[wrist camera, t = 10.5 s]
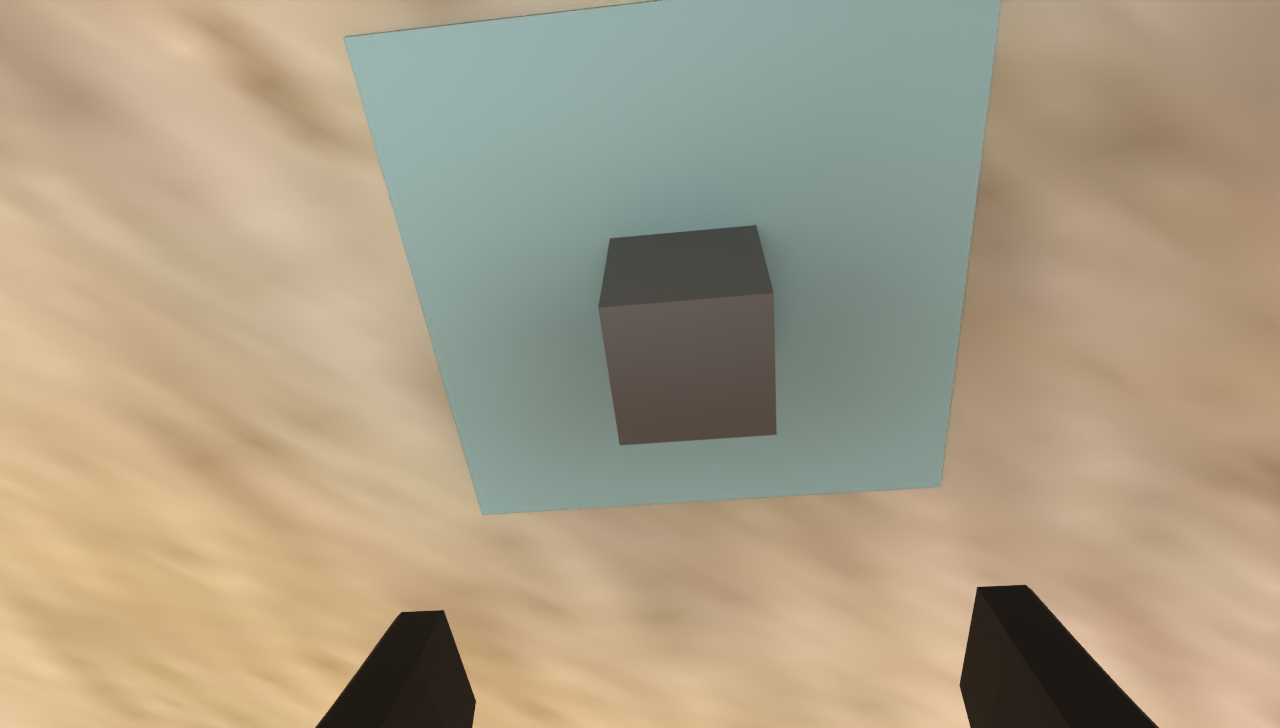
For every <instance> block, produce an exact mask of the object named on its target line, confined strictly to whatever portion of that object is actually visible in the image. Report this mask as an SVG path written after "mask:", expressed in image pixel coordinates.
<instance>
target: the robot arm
mask: <svg viewBox="0 0 1280 728" xmlns="http://www.w3.org/2000/svg"><path fill="white" fill-rule="evenodd" d="M960 689H961V692H962V696H963V700H964V704H965V708H966V712H967V715H968V719H969V723H970V727H971V728H1159V727H1158V726H1157V725H1156V724H1155V723H1154V722H1153V721H1152V720H1151V719H1150V718H1149V717H1148V716H1147V715H1146V714H1145V713H1144V712H1143V711H1142V710H1141V709H1140V708H1139V707H1138V706H1137V705H1136V704H1135V703H1134V702H1133V701H1132V700H1131V699H1130V697H1129V696H1128V695H1127V694H1126V693H1125V692H1124V691H1123V690H1122V689H1121V688H1120V687H1119V686H1118V685H1117V684H1116V683H1115V682H1114V681H1113V679H1112V678H1111V677H1110V676H1109V675H1108V674H1107V673H1106V672H1105V671H1104V670H1103V669H1102V667H1101V666H1100V665H1099V664H1098V663H1097V662H1096V661H1095V660H1094V659H1093V658H1092V657H1091V656H1090V654H1089V653H1088V652H1087V651H1086V650H1085V649H1084V648H1083V647H1082V646H1081V645H1080V643H1079V642H1078V641H1077V640H1076V639H1075V638H1074V637H1073V636H1072V635H1071V633H1070V632H1069V631H1068V630H1067V629H1066V628H1065V627H1064V626H1063V625H1062V623H1061V622H1060V621H1059V620H1058V619H1057V618H1056V617H1055V615H1054V614H1053V613H1052V612H1051V611H1050V610H1049V609H1048V608H1047V606H1046V605H1045V604H1044V603H1043V602H1042V601H1041V600H1040V599H1039V597H1038V596H1037V595H1036V594H1035V593H1034V592H1033V591H1032V590H1031V589H1030V588H1029V587H1028V586H1026V585H1013V586H990V587H977V592H976V597H975V603H974V608H973V614H972V620H971V625H970V631H969V636H968V642H967V647H966V653H965V658H964V664H963V669H962V675H961V680H960ZM475 704H476V700H475V697H474V695H473V692H472V689H471V686H470V683H469V680H468V678H467V675H466V672H465V669H464V666H463V663H462V661H461V658H460V655H459V652H458V649H457V646H456V644H455V641H454V638H453V635H452V632H451V630H450V627H449V624H448V621H447V618H446V615H445V613H444V610H439V611H416V612H401V613H400V614H399V615H398V616H397V618H396V619H395V620H394V621H393V623H392V624H391V626H390V627H389V628H388V630H387V631H386V632H385V634H384V635H383V637H382V638H381V639H380V641H379V642H378V644H377V645H376V646H375V648H374V649H373V651H372V652H371V653H370V655H369V656H368V657H367V659H366V660H365V662H364V663H363V664H362V666H361V667H360V669H359V670H358V671H357V673H356V674H355V675H354V677H353V678H352V679H351V681H350V682H349V684H348V685H347V686H346V688H345V689H344V690H343V692H342V693H341V694H340V696H339V697H338V698H337V700H336V701H335V702H334V704H333V705H332V707H331V708H330V709H329V711H328V712H327V713H326V714H325V716H324V717H323V718H322V720H321V721H320V722H319V724H318V725H317V726H316V727H315V728H472V725H473V718H474V711H475Z"/></svg>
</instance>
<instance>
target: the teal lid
mask: <svg viewBox="0 0 1280 728" xmlns="http://www.w3.org/2000/svg"><path fill="white" fill-rule="evenodd" d="M1000 7H1001V0H656V1H647V2H639V3H630V4H622V5H613V6H604V7H596V8H587V9H578V10H570V11H561V12H553V13H544V14H535V15H527V16H518V17H510V18H501V19H492V20H484V21H475V22H467V23H458V24H449V25H441V26H432V27H423V28H415V29H406V30H398V31H389V32H380V33H372V34H363V35H355V36H346V37H344V38H343V39H344V42H345V46H346V49H347V52H348V56H349V59H350V63H351V66H352V70H353V73H354V76H355V80H356V83H357V87H358V90H359V94H360V97H361V100H362V104H363V107H364V111H365V114H366V118H367V121H368V125H369V128H370V131H371V135H372V138H373V142H374V145H375V149H376V152H377V155H378V159H379V162H380V166H381V169H382V173H383V176H384V179H385V183H386V186H387V190H388V193H389V197H390V200H391V204H392V207H393V210H394V214H395V217H396V221H397V224H398V228H399V231H400V234H401V238H402V241H403V245H404V248H405V252H406V255H407V258H408V262H409V265H410V269H411V272H412V276H413V279H414V283H415V286H416V289H417V293H418V296H419V300H420V303H421V307H422V310H423V313H424V317H425V320H426V324H427V327H428V331H429V334H430V338H431V341H432V344H433V348H434V351H435V355H436V358H437V362H438V365H439V368H440V372H441V375H442V379H443V382H444V386H445V389H446V392H447V396H448V399H449V403H450V406H451V410H452V413H453V417H454V420H455V423H456V427H457V430H458V434H459V437H460V441H461V444H462V447H463V451H464V454H465V458H466V461H467V465H468V468H469V471H470V475H471V478H472V482H473V485H474V489H475V492H476V496H477V499H478V502H479V506H480V509H481V513H482V515H486V514H502V513H519V512H535V511H552V510H568V509H584V508H601V507H617V506H634V505H650V504H667V503H683V502H699V501H716V500H732V499H749V498H765V497H782V496H798V495H815V494H831V493H847V492H864V491H880V490H897V489H913V488H930V487H941V479H942V471H943V463H944V455H945V447H946V439H947V431H948V423H949V415H950V407H951V399H952V391H953V383H954V375H955V367H956V359H957V351H958V343H959V335H960V327H961V319H962V311H963V303H964V295H965V287H966V279H967V271H968V263H969V255H970V247H971V239H972V231H973V223H974V215H975V207H976V199H977V191H978V183H979V175H980V167H981V159H982V151H983V143H984V135H985V127H986V119H987V111H988V103H989V95H990V87H991V79H992V71H993V63H994V55H995V47H996V39H997V31H998V23H999V15H1000Z"/></svg>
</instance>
